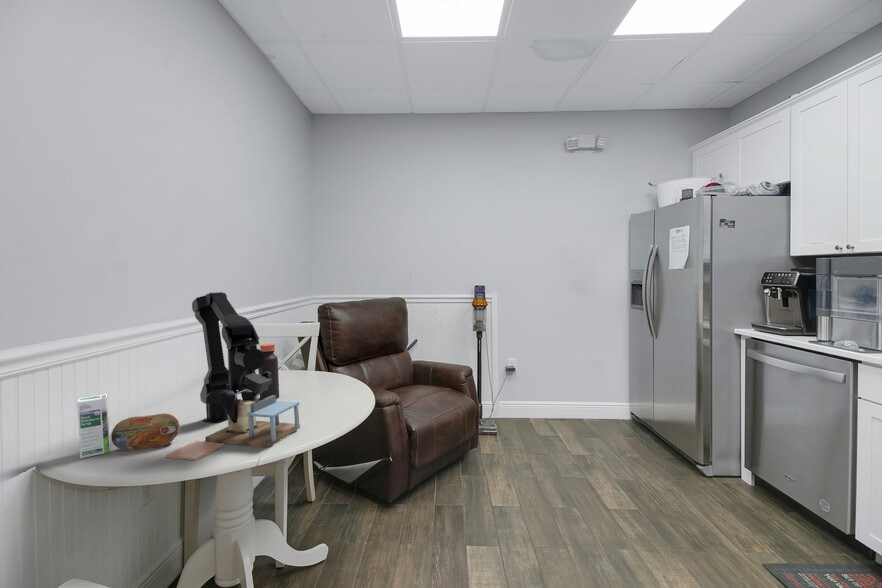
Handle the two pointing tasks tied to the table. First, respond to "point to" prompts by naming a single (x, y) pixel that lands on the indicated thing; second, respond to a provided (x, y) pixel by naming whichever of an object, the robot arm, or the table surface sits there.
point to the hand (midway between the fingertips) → (242, 419)
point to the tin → (145, 432)
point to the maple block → (242, 417)
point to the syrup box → (93, 425)
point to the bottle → (270, 370)
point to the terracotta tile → (195, 450)
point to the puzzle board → (260, 434)
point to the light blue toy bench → (271, 413)
